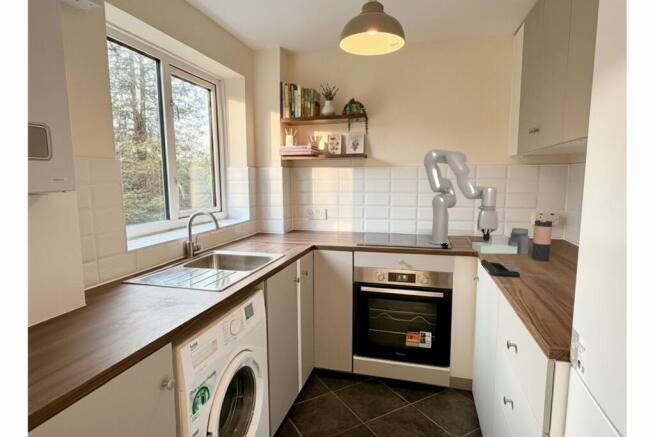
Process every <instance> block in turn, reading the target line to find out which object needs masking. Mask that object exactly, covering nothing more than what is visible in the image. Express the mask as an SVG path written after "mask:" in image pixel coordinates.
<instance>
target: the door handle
mask: <svg viewBox="0 0 655 437" xmlns="http://www.w3.org/2000/svg"><path fill="white" fill-rule="evenodd" d="M480 264H481V265H482V266H483V269H484V270H485V271H486V272H487V273H489V274H491V275H492V276H493V277H496V276H498V277H499V276H500V277H507V276H510V277H509V278H517V277H518V278H521V277H520V276H521V274H520V272H519V271H516V270H521V267H520V266H513V265H503V264H502V263H500V262H491V261H489V260H487V259H485V258H483V259H481V261H480Z"/></svg>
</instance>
